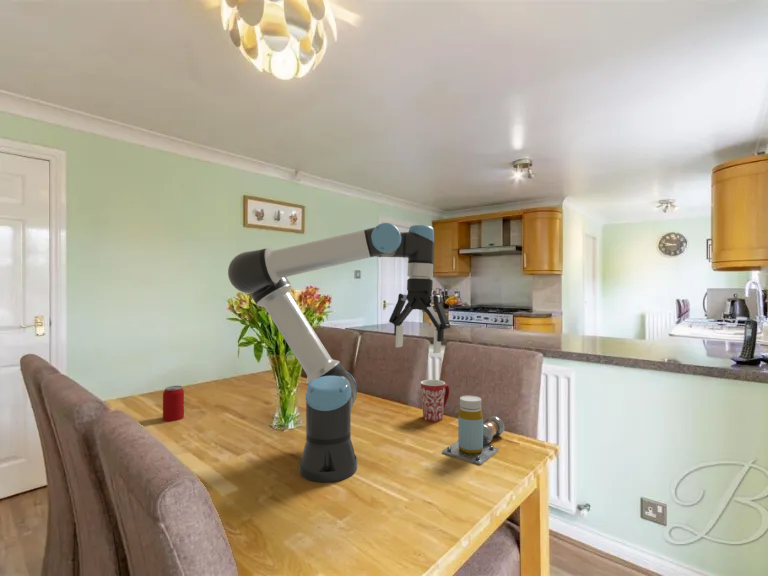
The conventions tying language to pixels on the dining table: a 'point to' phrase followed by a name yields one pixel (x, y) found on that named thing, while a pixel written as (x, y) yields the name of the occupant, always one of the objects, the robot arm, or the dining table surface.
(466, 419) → the bottle
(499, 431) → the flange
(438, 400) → the mug
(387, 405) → the dining table surface
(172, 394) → the beverage can
